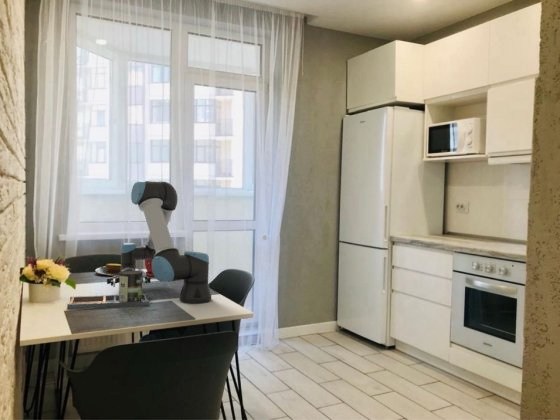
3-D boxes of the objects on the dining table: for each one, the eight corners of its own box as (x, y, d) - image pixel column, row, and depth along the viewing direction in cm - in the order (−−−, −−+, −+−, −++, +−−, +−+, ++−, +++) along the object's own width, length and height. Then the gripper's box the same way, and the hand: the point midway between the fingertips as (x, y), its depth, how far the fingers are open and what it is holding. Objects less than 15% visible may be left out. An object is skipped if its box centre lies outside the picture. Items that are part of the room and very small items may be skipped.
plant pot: (139, 275, 285) (140, 256, 285) (155, 272, 297) (155, 253, 296) (156, 278, 279) (156, 258, 279) (171, 275, 291) (171, 255, 290)
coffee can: (144, 300, 224) (145, 270, 223) (137, 305, 213) (138, 274, 213) (123, 299, 224) (123, 269, 223) (115, 304, 213) (115, 273, 213)
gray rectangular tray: (147, 297, 228) (147, 293, 228) (149, 305, 214) (149, 301, 214) (70, 301, 217) (70, 296, 217) (67, 309, 203) (67, 304, 203)
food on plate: (138, 270, 306) (138, 260, 306) (138, 277, 282) (139, 266, 282) (96, 270, 299) (96, 260, 298) (93, 278, 275) (93, 266, 274)
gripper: (153, 282, 248) (156, 290, 228) (102, 283, 240) (101, 292, 219) (153, 268, 247) (156, 275, 227) (102, 269, 239) (101, 276, 219)
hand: (129, 283), depth 223 cm, fingers open, 13 cm apart
